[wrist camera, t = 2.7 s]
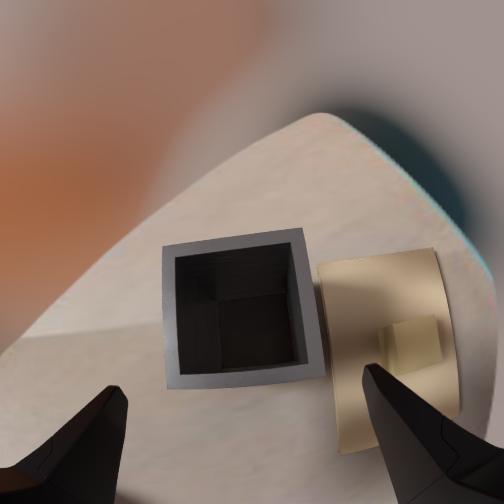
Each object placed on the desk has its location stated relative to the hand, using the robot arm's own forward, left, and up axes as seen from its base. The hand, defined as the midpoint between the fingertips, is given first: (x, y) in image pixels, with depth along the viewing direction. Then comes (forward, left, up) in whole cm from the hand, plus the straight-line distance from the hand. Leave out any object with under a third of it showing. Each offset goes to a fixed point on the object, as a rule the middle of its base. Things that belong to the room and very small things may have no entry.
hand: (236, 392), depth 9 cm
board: (0, -10, -11) cm, 15 cm away
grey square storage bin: (+3, 0, -10) cm, 11 cm away
